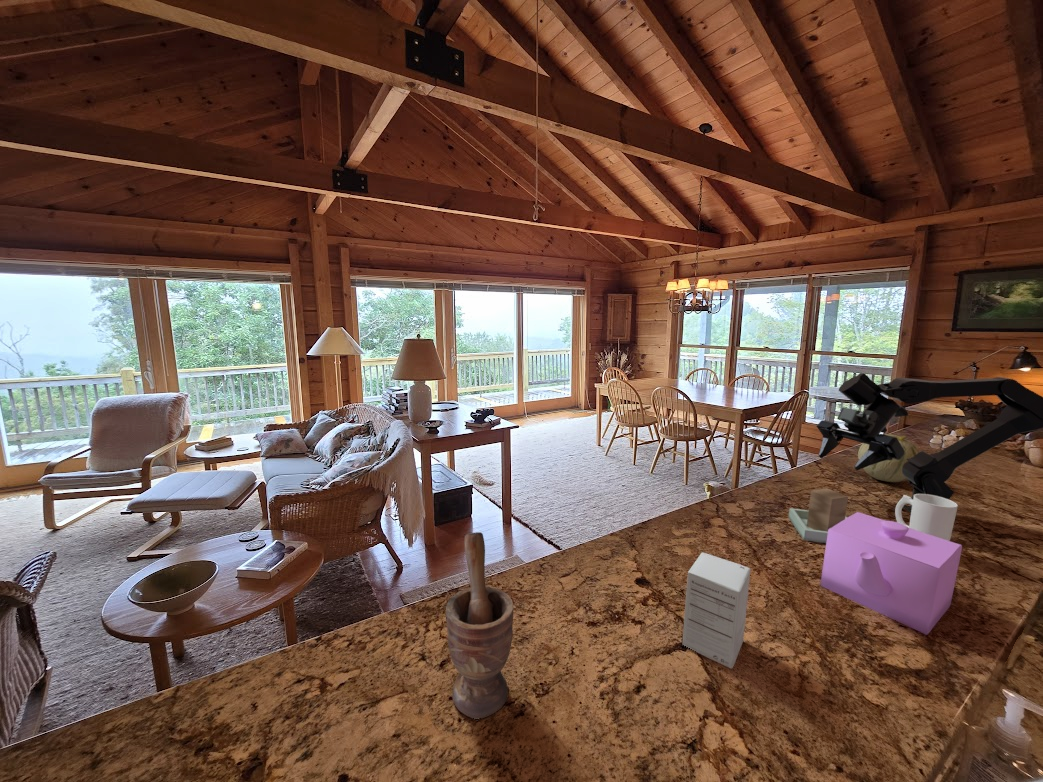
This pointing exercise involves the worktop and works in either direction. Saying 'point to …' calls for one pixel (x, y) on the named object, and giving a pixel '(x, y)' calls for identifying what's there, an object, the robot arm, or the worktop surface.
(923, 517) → the mug
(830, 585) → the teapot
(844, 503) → the walnut block
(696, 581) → the supplement box
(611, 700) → the worktop surface
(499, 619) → the mortar and pestle
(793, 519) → the tray
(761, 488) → the worktop surface
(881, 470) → the cantaloupe
